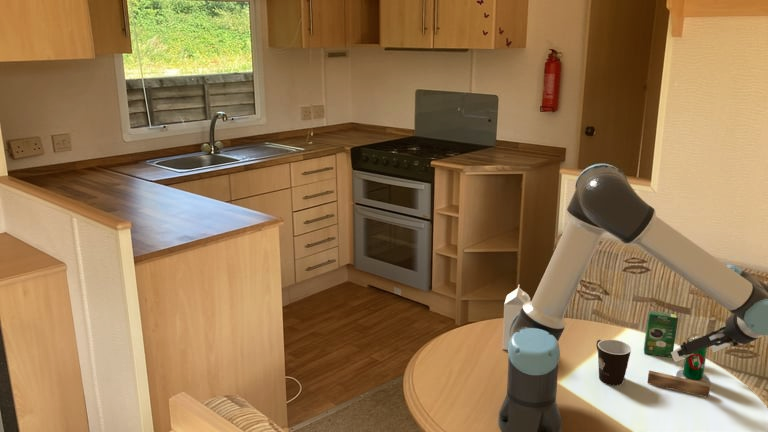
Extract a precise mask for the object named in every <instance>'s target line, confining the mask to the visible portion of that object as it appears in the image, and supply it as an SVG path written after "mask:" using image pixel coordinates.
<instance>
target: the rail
mask: <svg viewBox="0 0 768 432" xmlns="http://www.w3.org/2000/svg"><path fill="white" fill-rule="evenodd" d="M647 384H650V385H654V386H657V387H658V386H659V387H662V388H667V389H670V390H675V391H679V392H683V393H687V394H690V395H691V394H692V395H696V396H700V395H701V397H704V396H706V397H705V398H709V395H710V390H711V389H710V388H711V383H709V382H708V383H703V382H699V381H694V380H690V379H685V378H681V377H677V376H675V375H671V374H666V373H662V372H660V371H659V372H657V371H654V370H648V375H647Z"/></svg>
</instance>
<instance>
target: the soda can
mask: <svg viewBox="0 0 768 432" xmlns="http://www.w3.org/2000/svg"><path fill="white" fill-rule="evenodd" d="M703 336H704V334H699V333H690V334H689V336H688V337H687V339H686V343H688V342H691V341H693V340H695V339H698V338H700V337H703ZM707 352H708V348H705V349H702V350H699V351H697V352H694V353H693V354H692V355H690V356H688V357H686V358H684V361H683V367H682V370H683V375H684V376H685V377H686V378H688V379H690V380H701V379H702V378H703V374H705V373H704V372H705V367H706V359H707Z"/></svg>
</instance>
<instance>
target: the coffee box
mask: <svg viewBox="0 0 768 432" xmlns="http://www.w3.org/2000/svg"><path fill="white" fill-rule="evenodd" d="M678 322H679V316H678V314H677V313H669V312H668V313H667V312H662V311H655V310H654V311H653V310H649V312H648V318H647V324H646V331H645V336H644V345H643V353H644V354H647V355H653V356H661V357H665V358H666V357H667V358H673V357H672V355H671V352H673V351H674V348H675V342H676V341H675V340H676V335H677V330H678Z"/></svg>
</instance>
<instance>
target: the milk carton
mask: <svg viewBox="0 0 768 432" xmlns="http://www.w3.org/2000/svg"><path fill="white" fill-rule="evenodd" d="M529 301H531V297H530V295H529V294H528V293H527V292H526V291H524V290H523V289H522V288H521V287H520V284H518V286H517V288H516V289H514V290H513V291H511V292H510V293H508V294H507V295H506V297H505V301H504V304H503V328H502V329H503V330H502V345H501V347H502V350H506V351H508V346H509V342H510V334H509V332H510V326H511V323H512V321H513V320H514V318H515V317H516V315H517V314H518V313H520V311H521V308H522V306H523V304H524V303H526V302H529Z"/></svg>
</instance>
